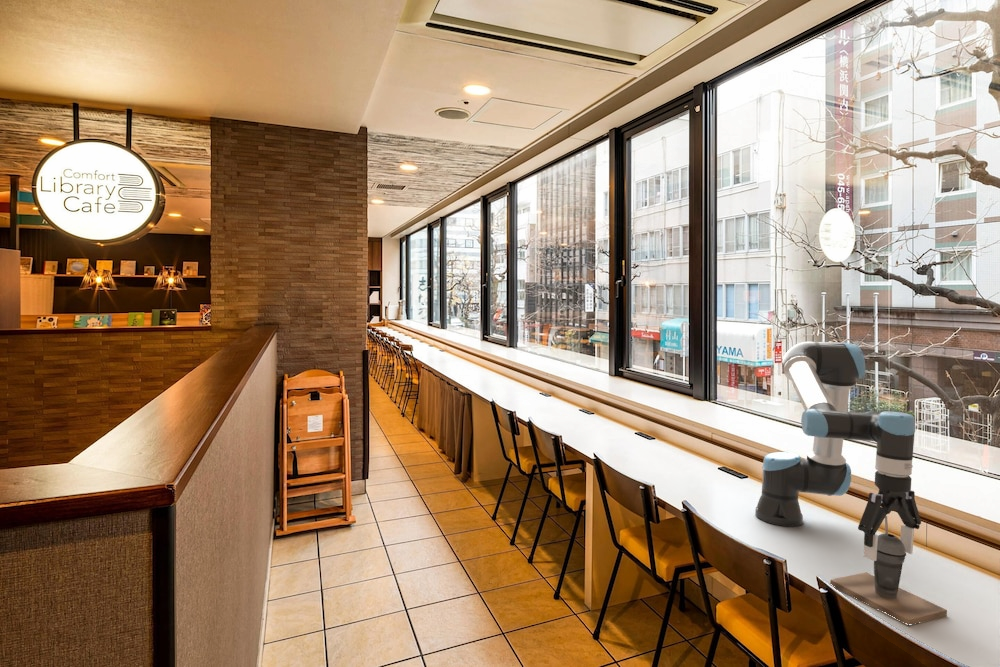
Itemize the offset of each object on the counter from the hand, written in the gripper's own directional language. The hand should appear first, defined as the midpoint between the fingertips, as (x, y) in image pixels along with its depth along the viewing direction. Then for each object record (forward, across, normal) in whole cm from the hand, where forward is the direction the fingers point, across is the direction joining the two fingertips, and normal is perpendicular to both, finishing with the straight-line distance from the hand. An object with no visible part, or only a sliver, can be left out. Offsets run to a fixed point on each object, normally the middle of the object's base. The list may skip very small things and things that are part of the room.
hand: (888, 555), depth 139 cm
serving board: (+12, 0, 0) cm, 12 cm away
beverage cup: (+10, 0, 0) cm, 10 cm away
